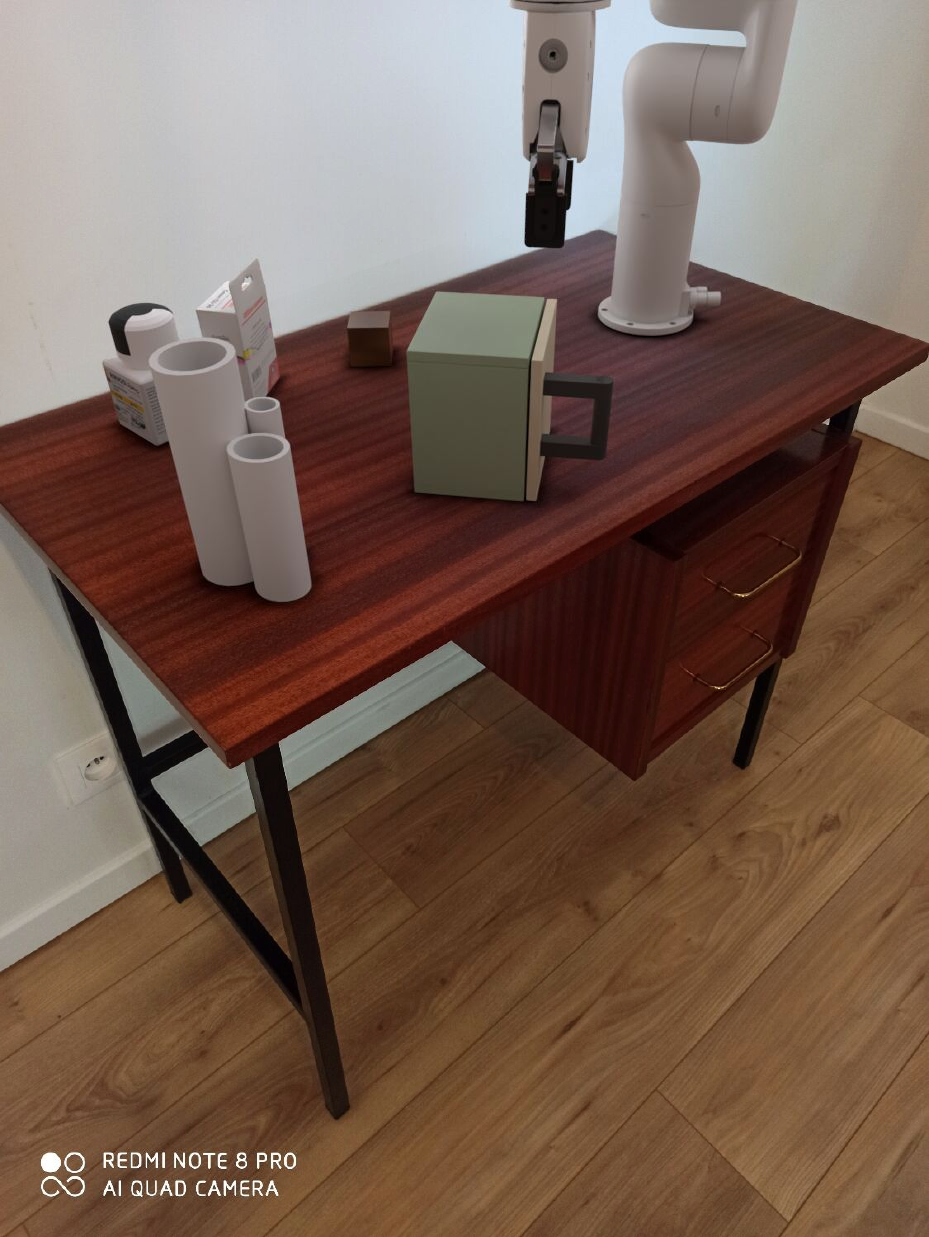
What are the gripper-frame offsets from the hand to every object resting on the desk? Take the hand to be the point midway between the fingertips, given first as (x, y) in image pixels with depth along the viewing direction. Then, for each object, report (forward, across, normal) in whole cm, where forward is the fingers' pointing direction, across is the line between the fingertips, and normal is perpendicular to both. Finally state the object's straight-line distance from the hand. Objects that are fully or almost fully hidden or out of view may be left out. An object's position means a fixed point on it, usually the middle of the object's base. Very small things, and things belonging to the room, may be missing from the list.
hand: (548, 227), depth 77 cm
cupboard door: (+24, +2, -3) cm, 25 cm away
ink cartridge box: (+25, +14, +35) cm, 46 cm away
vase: (+25, -18, +23) cm, 39 cm away
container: (+25, +6, +42) cm, 49 cm away
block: (+24, +25, +23) cm, 42 cm away
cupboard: (+25, +3, +6) cm, 26 cm away
